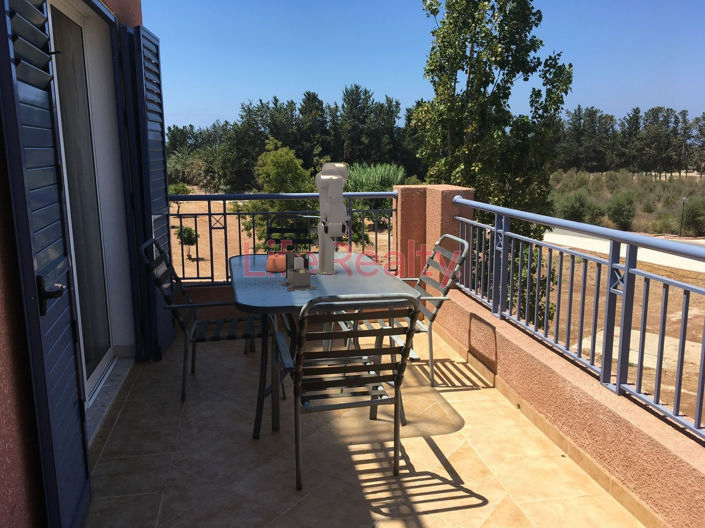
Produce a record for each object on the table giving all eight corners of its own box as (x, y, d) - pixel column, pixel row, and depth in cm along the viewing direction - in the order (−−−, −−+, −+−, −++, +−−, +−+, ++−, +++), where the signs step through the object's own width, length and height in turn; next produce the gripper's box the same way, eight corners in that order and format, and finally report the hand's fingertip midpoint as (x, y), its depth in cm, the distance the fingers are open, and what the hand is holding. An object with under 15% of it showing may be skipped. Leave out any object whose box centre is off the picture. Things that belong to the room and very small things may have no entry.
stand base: (280, 284, 310) (280, 265, 308) (308, 282, 316) (308, 264, 314) (288, 291, 296) (288, 272, 294) (317, 289, 302) (317, 270, 300)
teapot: (288, 268, 351) (288, 251, 349) (282, 274, 333) (282, 257, 331) (270, 267, 352) (270, 251, 350) (263, 273, 334) (263, 256, 332)
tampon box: (297, 280, 319) (298, 255, 316) (285, 278, 324) (285, 253, 321) (309, 277, 328) (309, 252, 325) (296, 275, 333) (296, 250, 330)
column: (294, 286, 307) (294, 257, 304) (301, 285, 309) (301, 257, 305) (296, 288, 303) (296, 259, 299) (303, 287, 304) (304, 258, 301)
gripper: (347, 199, 300) (347, 231, 303) (317, 200, 293) (317, 232, 296) (353, 201, 293) (352, 233, 297) (322, 201, 286) (322, 235, 290)
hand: (334, 233), depth 297 cm, fingers open, 9 cm apart
